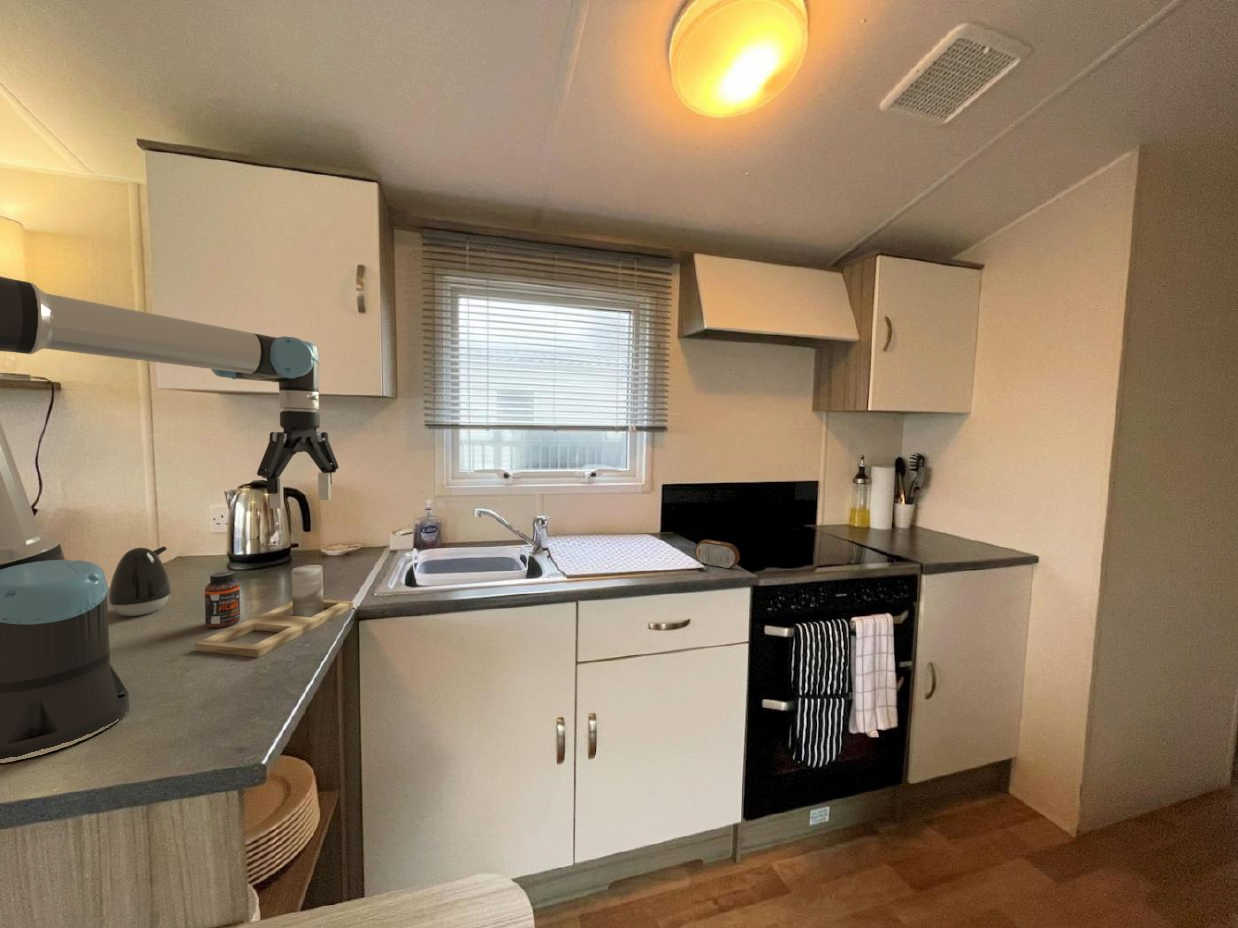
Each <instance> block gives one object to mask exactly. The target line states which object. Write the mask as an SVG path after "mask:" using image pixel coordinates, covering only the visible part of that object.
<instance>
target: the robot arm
mask: <svg viewBox="0 0 1238 928" xmlns="http://www.w3.org/2000/svg"><path fill="white" fill-rule="evenodd" d="M43 349H45V350H54V351H62V352H70V353H79V354H87V355H96V356H102V357H103V356H104V357H110V358H111V357H113V358H119V359H128V360H134V361H144V362H151V363H160V364H168V365H177V366H184V367H193V368H201V369H211V371H212V372H213V374H214V375H216V376H217V377H220V378H227V379H232V380H236V379H237V380H245V381H247V380H248V381H256V382H257V381H258V382H260V381H261V382H271V383H278V391H279V392H278V394H279V395H278V399H279V401H278V402H279V409H281V411H280V412H279V426H280V427H281V428H282V429H283V431H271V432H270V433H269V439H268V440H269V441H268V443H267V444H268V445H267V447H266V449H265V451H264V454H263V457H262V459H261V461H260V464H259V467H258V469H257V472H256V475H257V476H258V477H261V478H263V479H266V492H267V494H269V495H268V496H269V509H276V510H278V509H279V510H282V509H285V507H284V506H285V505H284V504H285V503H284V478H282V477H281V475H282V473H283V472H284V470H286V467H287V466H288V464H289V463H290V461H291V460H292V458H293V457H294V455H296V454H297V453H303V452H305V453H307V454H308V455H309V457H310V458H311V460H312V461H313V462H314V464H315V465H316V466H317V468H318V469H319V470H320V471H321V472H318V473H317V476H318V477H317V479H318V480H317V481H318V489H317V490H318V501H319V500H321V501H322V500H323V501H324V500H325V501H330V500H332V487H331V486H332V484H333V483H332V479H333V478H332V477H333V476H332V474H333V473H336V472H337V470H339V468H340V467H339V463H338V461H337V459H336V457H335V454H334V451H333V449H332V447H331V444H330V441H329V434H328V432H326V431H317V429H320V427H321V421H320V417H321V415H320V413H319V412H317V411H318V410H319V409H320V398H319V397H320V394H319V392H320V390H319V388H320V387H319V386H320V383H319V382H320V381H319V379H320V378H319V377H320V375H319V366H320V361H319V352H318V347H317V345H315V344H314V343H313V342H310V341H305V340H302V339H300V338H297V337H294V336H286V335H285V336H284V335H283V336H279V337H275V336H270V335H265V334H258V333H253V332H250V331H249V332H248V331H244V330H239V329H234V328H229V327H228V328H227V327H224V326H217V325H212V324H208V323H202V322H197V321H191V320H185V319H181V318H176V317H171V316H167V315H166V316H165V315H161V314H154V313H150V312H144V311H140V310H134V309H130V308H124V307H119V306H114V305H109V304H102V303H99V302H98V303H97V302H93V301H87V300H81V299H77V298H72V297H67V296H62V295H57V294H50V293H46V292H44V291H43V290H42V289H41V288H39V287H38V286H37V285H36V284H34V283H33V282H29V281H25V280H19V279H16V278H15V279H14V278H9V277H5V276H0V352H7V353H18V354H26V355H33V354H36V353H37V352H39V351H41V350H43ZM1 422H2V421H0V759H5V758H9V757H18V756H22V755H25V754H28V753H31V752H35V751H39V750H41V749H46V748H50V747H54V746H57V745H60V744H62V743H66V742H70V741H73V740H75V739H78V738H81V737H83V736H85V735H87V734H91V733H93V732H95V731H97V730H99V729H100V728H102V727H105V726H107V725H109V724H111V723H113V722H115V721H116V720H117V719H120V718H122V717H123V716H124V715H125V713H126V712H127V711H128V710H130V696H129V695H130V694H129V692H128V690H127V688H126V686H125V685H124V683H123V682H122V680H121V678H120V677H119V675H118V673H117V671H116V670H115V668H114V666H113V665H112V663H111V654H110V652H111V651H110V633H109V631H110V630H109V612H108V593H109V584H108V581H107V579H106V574H105V571H104V570H103V569H102V567H101V566H99V565H98V564H96V563H94V562H90V561H86V560H79V559H77V560H71V559H66V558H65V555H64V552H63V549H62V547H61V545H60V544H61V543H60V541H59V540H58V539H56V538H52V537H50V536H49V537H48V536H46V535H44V534H42V533H41V532H40V529H39V526H38V522H37V520H36V518H35V515H34V511H33V509H32V506H31V504H30V501H29V497H28V495H27V492H26V489H25V487H24V484H23V480H22V478H21V475H20V472H19V470H18V467H17V464H16V461H15V459H14V456H13V453H12V450H11V447H10V444H9V443H8V440H7V436H6V434H5V430H4V428H3V425H2V423H1ZM128 712H129V711H128ZM128 712H127V713H128ZM125 716H126V715H125ZM125 716H124V717H125ZM124 717H123V718H124ZM123 718H122V719H123Z"/></svg>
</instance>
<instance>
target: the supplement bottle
mask: <svg viewBox="0 0 1238 928" xmlns="http://www.w3.org/2000/svg"><path fill="white" fill-rule="evenodd" d="M209 578H210V579H209V580H210V582H209V583H208V584H207V585H206V586H205V588H204V612H205V613H204V614H205V615H204V618H205V626H206V627H208V628H212V629H219V628H225V627H229V626H230V627H231V626H233V625H235V624H236V623H239V621H240V619H241V598H240V597H241V596H240V595H241V591H240V582H238V581H237V580H235V579H234V578H235V574H234V571H231V570H230V571H229V570H227V571H218V572H214V573H212V574H210V577H209Z"/></svg>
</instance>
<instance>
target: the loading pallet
mask: <svg viewBox="0 0 1238 928" xmlns="http://www.w3.org/2000/svg"><path fill="white" fill-rule="evenodd" d="M323 574H324V571H323V565H319V564H308V565H307V564H306V565H302V566H298V567H295V568H292V569H291V595H292V597H291V599H292V601H290V602H289V603H287V604H284V605H282V606H279V607H277V608H275V609H272V610H270V611H267V612H265V613H263V614H260V615H258V616H256V617H254V618H251V619H248V620H246V621H245V622H241V623H239V624H237V625H235V626H233V627H230V628H227V629H225V630H222V631H220V632H218V633H216V634H214V635H212V636H209V637H207V638H204V639H202V640H200V641H197V642H195V643H194V651H195V652H201V653H202V652H205V653H215V654H222V655H223V654H224V655H234V656H241V657H243V656H244V657H252V658H260V657H262V656H264V655H265V654H267V652H268V653H269V652H271V651H274V650H275V649H277V648H279V647H280V646H283V645H285V644H286V643H288V642H291V641H292V640H295V639H296V638H298V637H300V636H301V635H305V634H306V633H308V632H309V631H311V630H313V629H315V628H317V627H319V626H321V625H323V624H325V623H327V622H329V621H331V620H333V619H335V618H336V617H337V618H338V616H340V615H343V614H344V613H347V612H348V611H350V610H352V609H353V608H354V601H348V600H338V599H337V600H335V599H324V581H323V580H324V579H323V577H324V575H323ZM324 609H325V610H324ZM291 614H292V615H291ZM253 631H263V632H264V631H265V632H273V633H275V632H276V634H274V635H272V636H270V637H267V638H265V639H263V640H261V641H259V642H257V643H255V644H248V643H237V642H231V641H233V640H236V639H238V638H240V637H243V636H245V635H247V634H249V633H250V632H253Z"/></svg>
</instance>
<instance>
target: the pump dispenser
mask: <svg viewBox="0 0 1238 928" xmlns="http://www.w3.org/2000/svg"><path fill="white" fill-rule="evenodd" d="M167 549H168V548H167V547H166V546H161V547H158V548H157V549H155V550H152V549H150V548H147V547H136V548H135V547H134V548H132V549H130V550H128V551H127V552H125V553H124V555H123V556H122V557H121V558H120V560H119V561H118V563H117V565H116V568H115V570H114V572H113V575H112V578H111V582H110V586H109V590H108V593H109V594H108V603H109V604H110V605H111V607H112V609H113V610H114V611H115V612H116V613H117V614H118V615H121V616H126V617H138V616H144V615H148V614H152V613H154V612H156V611H158V610H160V609H161V608H162V607H163V606H164V605H165V604H166V603H167V602H168V600H169V596H170V595H171V593H172V587H171V581H170V578H169V576H168V573H167V570H166V568H165V565H164V563H163V562H162V560H161V559H160V557H159V556H160V554H162V553H163V552H166V550H167Z"/></svg>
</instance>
